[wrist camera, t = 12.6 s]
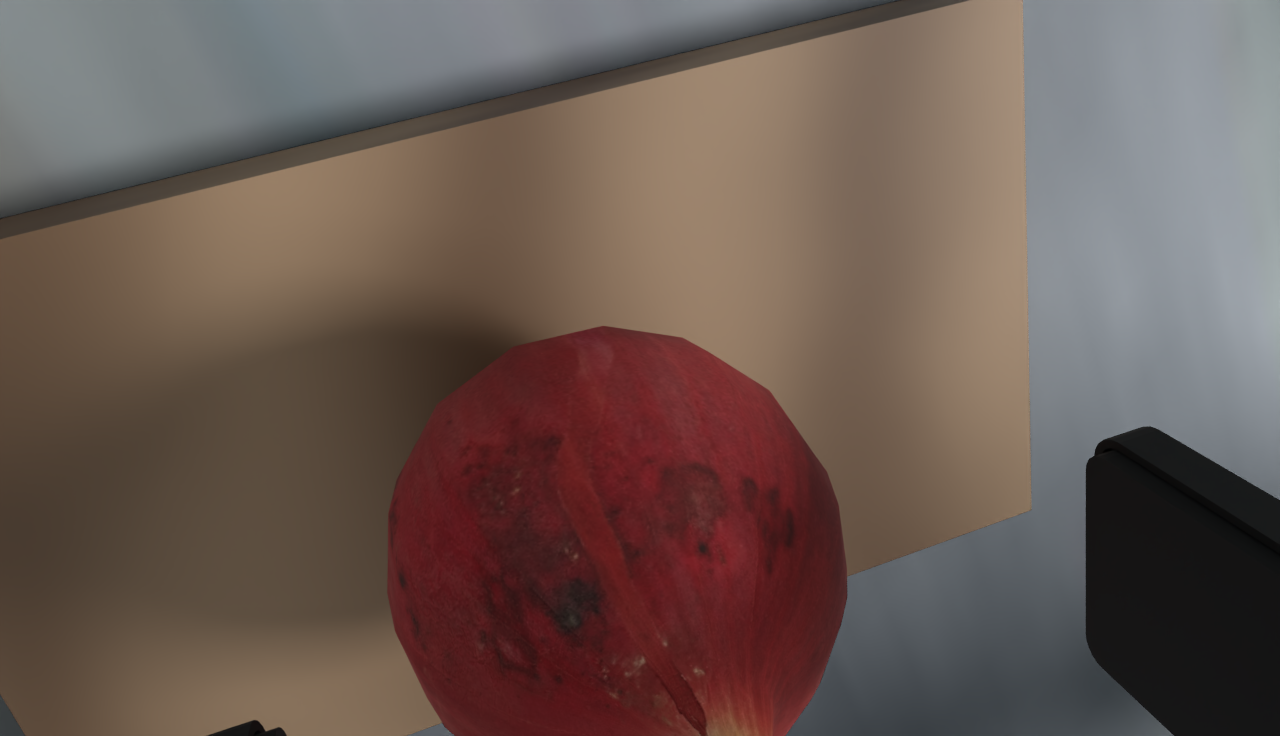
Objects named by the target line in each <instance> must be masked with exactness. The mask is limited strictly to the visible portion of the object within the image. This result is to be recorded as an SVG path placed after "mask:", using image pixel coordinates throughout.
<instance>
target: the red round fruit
mask: <svg viewBox="0 0 1280 736" xmlns="http://www.w3.org/2000/svg"><path fill="white" fill-rule="evenodd" d="M387 594H388V599H389V604H390V609H391V614H392V619H393V624H394V629H395V632H396V634H397V637H398V639H399V641H400V643H401V645H402V647H403V649H404V651H405V653H406V655H407V657H408V659H409V662H410V664H411V666H412V668H413V670H414V672H415V674H416V676H417V678H418V680H419V682H420V684H421V686H422V689H423V691H424V693H425V695H426V697H427V699H428V700H429V702H430V704H431V705H432V707H433V708H434V710H435V712H436V713H437V715H438V716H439V718H440V720H441V721H442V723H443V725H444V726H445V728H447V729H448V730H449V731H450V732H451V733H452V734H454V735H455V736H785V735H786V734H787V733H788V731H789V730H790V728H791V727H792V726H793V724H794V723H795V721H796V720H797V719H798V717H799V716H800V714H801V713H802V712H803V710H804V709H805V707H806V706H807V705H808V703H809V702H810V700H811V699H812V697H813V695H814V693H815V691H816V689H817V688H818V686H819V684H820V682H821V679H822V676H823V673H824V671H825V668H826V665H827V662H828V659H829V657H830V654H831V651H832V648H833V645H834V643H835V640H836V637H837V634H838V631H839V629H840V626H841V622H842V618H843V613H844V609H845V604H846V600H847V565H846V557H845V549H844V542H843V534H842V526H841V519H840V511H839V504H838V501H837V498H836V496H835V493H834V490H833V487H832V484H831V482H830V479H829V476H828V473H827V471H826V470H825V468H824V467H823V465H822V464H821V463H820V461H819V460H818V458H817V457H816V456H815V454H814V453H813V451H812V450H811V448H810V447H809V446H808V444H807V443H806V441H805V440H804V439H803V437H802V436H801V434H800V433H799V431H798V430H797V429H796V427H795V426H794V424H793V423H792V422H791V420H790V419H789V417H788V416H787V414H786V413H785V412H784V410H783V409H782V407H781V406H780V405H779V403H778V402H777V400H776V399H775V397H774V396H773V395H772V393H771V392H770V390H768V389H767V388H765V387H763V386H762V385H760V384H759V383H757V382H756V381H754V380H752V379H751V378H749V377H748V376H746V375H744V374H743V373H741V372H740V371H738V370H737V369H735V368H733V367H732V366H730V365H729V364H727V363H726V362H724V361H722V360H721V359H719V358H718V357H716V356H714V355H713V354H711V353H710V352H708V351H706V350H704V349H703V348H701V347H699V346H697V345H695V344H693V343H692V342H690V341H688V340H686V339H684V338H683V337H676V336H669V335H663V334H656V333H649V332H642V331H636V330H629V329H622V328H615V327H609V326H600V327H595V328H591V329H587V330H582V331H578V332H574V333H570V334H565V335H561V336H557V337H552V338H548V339H544V340H539V341H535V342H531V343H526V344H522V345H518V346H514V347H512V348H511V349H509V350H508V351H507V352H506V353H504V354H503V355H502V356H500V357H499V358H498V359H496V360H495V361H494V362H492V363H491V364H490V365H488V366H487V367H486V368H484V369H483V370H482V371H480V372H479V373H478V374H476V375H475V376H474V377H472V378H471V379H470V380H468V381H467V382H466V383H464V384H463V385H462V386H460V387H459V388H458V389H456V390H455V391H454V392H452V393H451V394H450V395H448V396H447V397H446V398H444V399H443V400H442V401H440V402H439V403H438V404H437V405H436V407H435V409H434V411H433V413H432V414H431V416H430V418H429V420H428V422H427V424H426V426H425V428H424V429H423V431H422V433H421V435H420V437H419V439H418V441H417V442H416V444H415V446H414V448H413V450H412V452H411V454H410V456H409V457H408V459H407V461H406V463H405V465H404V467H403V469H402V471H401V472H400V474H399V476H398V478H397V480H396V484H395V488H394V492H393V496H392V500H391V504H390V508H389V512H388V578H387Z"/></svg>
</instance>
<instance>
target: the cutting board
mask: <svg viewBox="0 0 1280 736" xmlns="http://www.w3.org/2000/svg"><path fill="white" fill-rule="evenodd" d="M600 326H609V327H615V328H622V329H629V330H636V331H642V332H649V333H656V334H663V335H669V336H676V337H683V338H684V339H686V340H688V341H690V342H692V343H693V344H695V345H697V346H699V347H701V348H703V349H704V350H706V351H708V352H710V353H711V354H713V355H714V356H716V357H718V358H719V359H721V360H722V361H724V362H726V363H727V364H729V365H730V366H732V367H733V368H735V369H737V370H738V371H740V372H741V373H743V374H744V375H746V376H748V377H749V378H751V379H752V380H754V381H756V382H757V383H759V384H760V385H762V386H763V387H765V388H767V389H768V390H770V392H771V393H772V395H773V396H774V397H775V399H776V400H777V402H778V403H779V405H780V406H781V407H782V409H783V410H784V412H785V413H786V414H787V416H788V417H789V419H790V420H791V422H792V423H793V424H794V426H795V427H796V429H797V430H798V431H799V433H800V434H801V436H802V437H803V439H804V440H805V441H806V443H807V444H808V446H809V447H810V448H811V450H812V451H813V453H814V454H815V456H816V457H817V458H818V460H819V461H820V463H821V464H822V465H823V467H824V468H825V470H826V471H827V473H828V476H829V479H830V482H831V484H832V487H833V490H834V493H835V496H836V498H837V501H838V504H839V511H840V519H841V526H842V534H843V542H844V549H845V557H846V565H847V576H850V575H853V574H856V573H858V572H861V571H864V570H867V569H870V568H872V567H875V566H878V565H881V564H883V563H886V562H889V561H892V560H894V559H897V558H900V557H903V556H905V555H908V554H911V553H914V552H917V551H919V550H922V549H925V548H928V547H930V546H933V545H936V544H939V543H941V542H944V541H947V540H950V539H953V538H955V537H958V536H961V535H964V534H966V533H969V532H972V531H975V530H977V529H980V528H983V527H986V526H989V525H991V524H994V523H997V522H1000V521H1002V520H1005V519H1008V518H1011V517H1013V516H1016V515H1019V514H1022V513H1025V512H1027V511H1030V510H1031V457H1030V399H1029V340H1028V282H1027V224H1026V166H1025V107H1024V49H1023V0H900V1H895V2H891V3H887V4H883V5H879V6H875V7H871V8H867V9H863V10H858V11H854V12H850V13H846V14H842V15H838V16H834V17H830V18H825V19H821V20H817V21H813V22H809V23H805V24H801V25H797V26H792V27H788V28H784V29H780V30H776V31H772V32H768V33H764V34H760V35H755V36H751V37H747V38H743V39H739V40H735V41H731V42H727V43H722V44H718V45H714V46H710V47H706V48H702V49H698V50H694V51H689V52H685V53H681V54H677V55H673V56H669V57H665V58H661V59H657V60H652V61H648V62H644V63H640V64H636V65H632V66H628V67H624V68H619V69H615V70H611V71H607V72H603V73H599V74H595V75H591V76H587V77H582V78H578V79H574V80H570V81H566V82H562V83H558V84H554V85H549V86H545V87H541V88H537V89H533V90H529V91H525V92H521V93H516V94H512V95H508V96H504V97H500V98H496V99H492V100H488V101H484V102H479V103H475V104H471V105H467V106H463V107H459V108H455V109H451V110H446V111H442V112H438V113H434V114H430V115H426V116H422V117H418V118H413V119H409V120H405V121H401V122H397V123H393V124H389V125H385V126H381V127H376V128H372V129H368V130H364V131H360V132H356V133H352V134H348V135H343V136H339V137H335V138H331V139H327V140H323V141H319V142H315V143H310V144H306V145H302V146H298V147H294V148H290V149H286V150H282V151H278V152H273V153H269V154H265V155H261V156H257V157H253V158H249V159H245V160H240V161H236V162H232V163H228V164H224V165H220V166H216V167H212V168H207V169H203V170H199V171H195V172H191V173H187V174H183V175H179V176H175V177H170V178H166V179H162V180H158V181H154V182H150V183H146V184H142V185H137V186H133V187H129V188H125V189H121V190H117V191H113V192H109V193H104V194H100V195H96V196H92V197H88V198H84V199H80V200H76V201H72V202H67V203H63V204H59V205H55V206H51V207H47V208H43V209H39V210H34V211H30V212H26V213H22V214H18V215H14V216H10V217H6V218H1V219H0V695H1V696H2V698H3V700H4V701H5V703H6V705H7V706H8V708H9V709H10V711H11V713H12V714H13V716H14V718H15V719H16V721H17V723H18V724H19V726H20V728H21V729H22V731H23V732H24V734H25V736H207V735H210V734H213V733H216V732H219V731H222V730H225V729H228V728H231V727H234V726H237V725H240V724H243V723H246V722H249V721H252V720H258V721H259V722H260V723H261V724H262V726H263V727H264V729H265V731H268V730H271V729H274V728H277V727H281V728H282V729H283V730H284V731H285V733H286V735H287V736H407V735H410V734H413V733H415V732H418V731H421V730H424V729H426V728H429V727H432V726H435V725H438V724H440V723H442V721H441V720H440V718H439V716H438V715H437V713H436V712H435V710H434V708H433V707H432V705H431V704H430V702H429V700H428V699H427V697H426V695H425V693H424V691H423V689H422V686H421V684H420V682H419V680H418V678H417V676H416V674H415V672H414V670H413V668H412V666H411V664H410V662H409V659H408V657H407V655H406V653H405V651H404V649H403V647H402V645H401V643H400V641H399V639H398V637H397V634H396V632H395V629H394V624H393V619H392V614H391V609H390V604H389V599H388V594H387V578H388V512H389V508H390V504H391V500H392V496H393V492H394V488H395V484H396V480H397V478H398V476H399V474H400V472H401V471H402V469H403V467H404V465H405V463H406V461H407V459H408V457H409V456H410V454H411V452H412V450H413V448H414V446H415V444H416V442H417V441H418V439H419V437H420V435H421V433H422V431H423V429H424V428H425V426H426V424H427V422H428V420H429V418H430V416H431V414H432V413H433V411H434V409H435V407H436V405H437V404H438V403H439V402H440V401H442V400H443V399H444V398H446V397H447V396H448V395H450V394H451V393H452V392H454V391H455V390H456V389H458V388H459V387H460V386H462V385H463V384H464V383H466V382H467V381H468V380H470V379H471V378H472V377H474V376H475V375H476V374H478V373H479V372H480V371H482V370H483V369H484V368H486V367H487V366H488V365H490V364H491V363H492V362H494V361H495V360H496V359H498V358H499V357H500V356H502V355H503V354H504V353H506V352H507V351H508V350H509V349H511V348H512V347H514V346H518V345H522V344H526V343H531V342H535V341H539V340H544V339H548V338H552V337H557V336H561V335H565V334H570V333H574V332H578V331H582V330H587V329H591V328H595V327H600Z"/></svg>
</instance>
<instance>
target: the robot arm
mask: <svg viewBox="0 0 1280 736" xmlns="http://www.w3.org/2000/svg"><path fill="white" fill-rule="evenodd" d="M1086 639H1087V643H1088V646H1089V649H1090V651H1091V653H1092V655H1093V657H1094V658H1095V660H1096V661H1097V663H1098V664H1099V665H1100V666H1101V667H1102V668H1103V669H1104V670H1105V671H1106V672H1107V673H1108V674H1109V675H1110V676H1111V677H1112V678H1113V679H1114V680H1116V681H1117V682H1118V683H1119V684H1120V685H1121V686H1122V687H1123V688H1124V689H1125V690H1126V691H1127V692H1128V693H1129V694H1130V695H1132V696H1133V697H1134V698H1135V699H1136V700H1137V701H1138V702H1139V703H1140V704H1141V705H1142V706H1143V707H1144V708H1145V709H1146V710H1147V711H1149V712H1150V713H1151V714H1152V715H1153V716H1154V717H1155V718H1156V719H1157V720H1158V721H1159V722H1160V723H1161V724H1162V725H1163V726H1164V727H1166V728H1167V729H1168V730H1169V731H1170V732H1171V733H1172V734H1173V735H1174V736H1280V500H1278V499H1276V498H1275V497H1273V496H1271V495H1270V494H1268V493H1266V492H1264V491H1263V490H1261V489H1259V488H1258V487H1256V486H1254V485H1252V484H1251V483H1249V482H1247V481H1246V480H1244V479H1242V478H1240V477H1239V476H1237V475H1235V474H1234V473H1232V472H1230V471H1228V470H1227V469H1225V468H1223V467H1222V466H1220V465H1218V464H1216V463H1215V462H1213V461H1211V460H1210V459H1208V458H1206V457H1204V456H1203V455H1201V454H1199V453H1198V452H1196V451H1194V450H1192V449H1191V448H1189V447H1187V446H1186V445H1184V444H1182V443H1181V442H1179V441H1177V440H1175V439H1174V438H1172V437H1170V436H1169V435H1167V434H1165V433H1163V432H1162V431H1160V430H1158V429H1155V428H1153V427H1141V428H1138V429H1135V430H1132V431H1129V432H1126V433H1123V434H1120V435H1117V436H1114V437H1111V438H1108V439H1105V440H1103V441H1101V442H1100V443H1098V445H1097V447H1096V449H1095V455H1094V456H1093V457H1092V458H1090V459H1089V460H1088V462H1087V466H1086ZM207 736H287V735H286V733H285V731H284V730H283V729H282V728H281V727H277V728H274V729H271V730H268V731H265V729H264V727H263V726H262V724H261V723H260V722H259V721H258V720H252V721H249V722H246V723H243V724H240V725H237V726H234V727H231V728H228V729H225V730H222V731H219V732H216V733H213V734H210V735H207Z"/></svg>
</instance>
